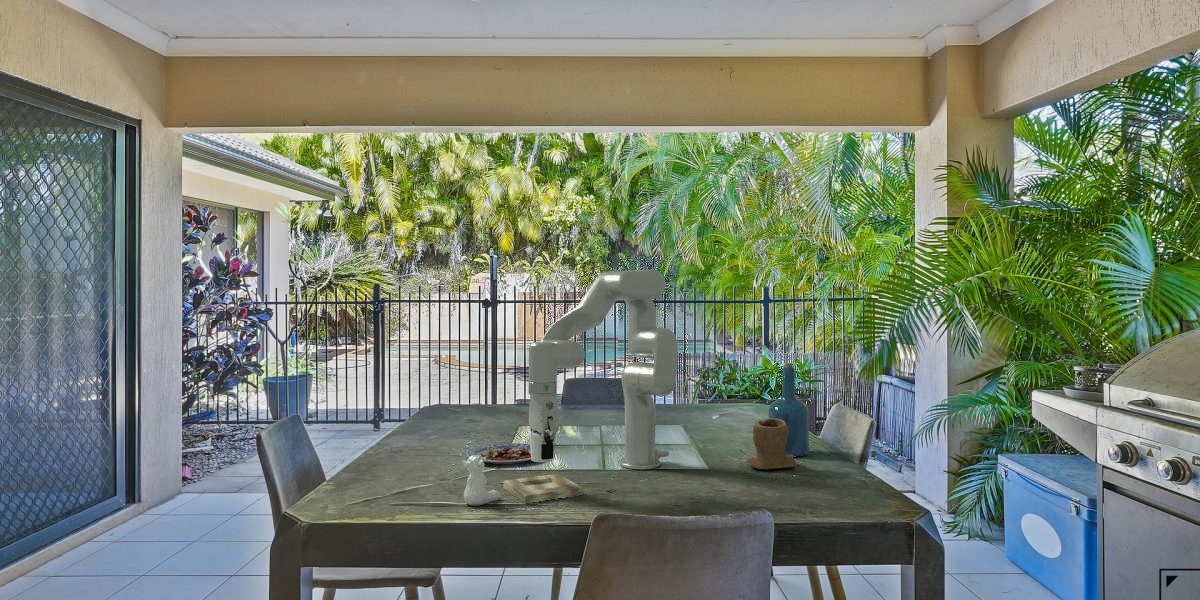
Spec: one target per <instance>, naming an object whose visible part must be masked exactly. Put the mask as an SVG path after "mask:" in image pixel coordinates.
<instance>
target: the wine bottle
mask: <svg viewBox="0 0 1200 600" xmlns="http://www.w3.org/2000/svg"><path fill="white" fill-rule="evenodd" d="M781 377H782V382H781V384H782V386H781V387H782V388H781V396H779V397H778V398H777V399H776V400H775V401H773V402H771V404H770V405H769V407H768V417H767V418H777V419H781V420H783V421H785V422H786V424H787V427H788V438H787V442H786V447H785V455H787V454H792V455H793V458H795V457H794V456H802V457H805V456H808V455H809V452H810V451H809V448H810V443H809V442H810V441H809V440H810V439H809V438H810V436H809V435H810V433H809V432H810V429H809V428H810V422H809V421H810V419H809V418H810V413H809V412H810V411H809V409H808V406H807V404H806V403H804V402H802V401H801V400H799V399H798V398H797V397H796V387H795V386H796V383H795V381H796V379H795V378H796V372H795V367H794V364H793V363H792V362H786V363H784V366H783V367H782V373H781ZM807 454H808V455H807ZM804 455H805V456H804Z"/></svg>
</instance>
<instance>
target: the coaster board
mask: <svg viewBox="0 0 1200 600" xmlns="http://www.w3.org/2000/svg"><path fill="white" fill-rule="evenodd" d="M502 483H503V489H504V490H505V491H506V492H508V493H509V494H511V495H512V494H513V496H514V497H515V496H516V497H515V498H517V499H518V500H519V499H520V501H521V502H522V501H523V502H524V503H523V502H522V503H523V504H524V505H527V504H526V503H528V504H534V503H533V502H535V503H539V501H541V502H546V501H545V500H548V501H552V500H551V499H555V500H559V499H558V498H562V499H567V498H566V497H568V498H575V497H581V496H580V495H582V496H584V488H583V486H581V485H579V484H577V483H576V482H573V481H572V480H570V479H568V478H566V477H564V476H562V475H560V474H559V473H553V474H552V473H551V474H545V475H537V476H536V475H535V476H529V477H522V478H514V479H512V478H511V479H506V480H505V479H504V480H503V482H502ZM574 496H575V497H574Z"/></svg>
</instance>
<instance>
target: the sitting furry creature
mask: <svg viewBox="0 0 1200 600" xmlns="http://www.w3.org/2000/svg"><path fill="white" fill-rule="evenodd" d="M461 462H462V467H465V469H466V470H467V471H468V472H469V473H470V474H469V476H468V477H467V481H466V487H465V488H464V489H465V490H464V491H463V500H464V502H465V503H466V505H469V506H482V505H485V504H488V503H492V502H495V501H498V500H500V499H501V496H502V494H501V492H500V491H497V490H495V489H492V490H488V491H487V489H486V486H487V482H488V479H487V477H486V476H485V475H486V474H484V472H483V471H484V469H485V465H486V464H485V462H483V460H482V458H480V456H479V455H472V456H470V457H468V458H467V460H463V459H462V460H461Z"/></svg>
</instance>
